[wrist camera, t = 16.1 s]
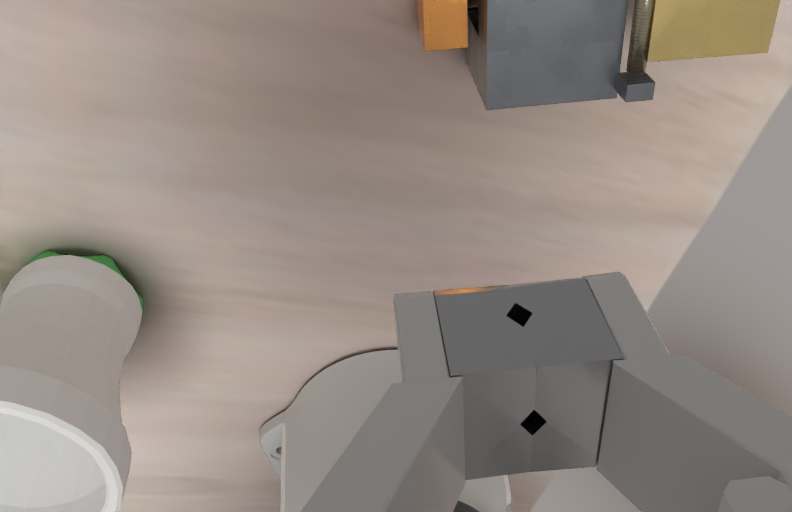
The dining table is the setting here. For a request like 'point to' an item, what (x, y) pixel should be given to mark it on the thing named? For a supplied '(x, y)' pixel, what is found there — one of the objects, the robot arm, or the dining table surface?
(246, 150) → the dining table surface
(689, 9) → the keeper flap
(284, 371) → the dining table surface
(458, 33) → the orange piece
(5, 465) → the cup
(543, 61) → the block
